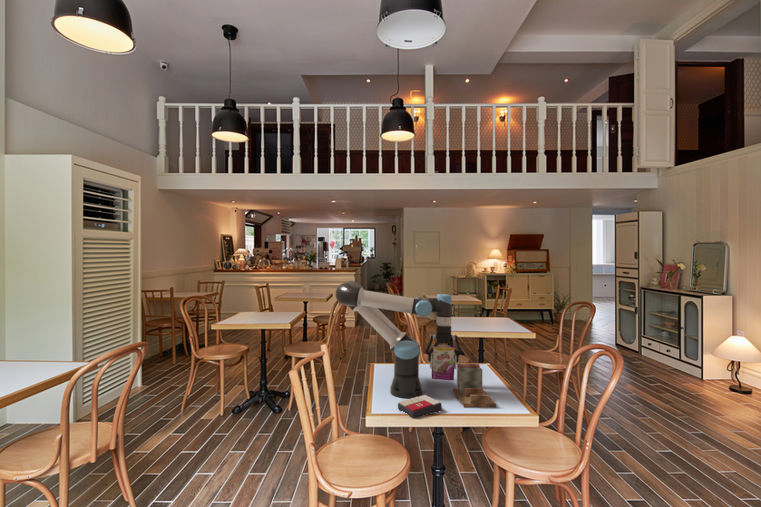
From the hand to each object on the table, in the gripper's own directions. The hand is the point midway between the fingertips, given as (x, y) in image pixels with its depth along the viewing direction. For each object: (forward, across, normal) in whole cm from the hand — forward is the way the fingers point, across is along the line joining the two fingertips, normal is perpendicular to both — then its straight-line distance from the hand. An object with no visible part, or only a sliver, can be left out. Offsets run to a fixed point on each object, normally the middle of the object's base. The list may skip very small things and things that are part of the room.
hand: (443, 368), depth 185 cm
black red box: (+10, -16, -31) cm, 36 cm away
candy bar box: (+5, 0, 0) cm, 5 cm away
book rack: (+9, +10, -18) cm, 23 cm away
